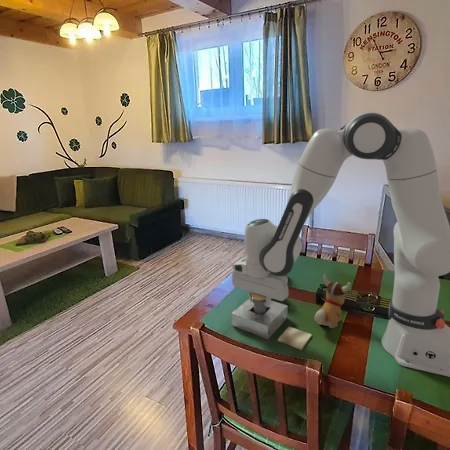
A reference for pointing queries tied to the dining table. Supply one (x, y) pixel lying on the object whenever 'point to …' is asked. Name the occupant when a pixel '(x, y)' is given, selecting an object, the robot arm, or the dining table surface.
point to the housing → (259, 318)
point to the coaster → (294, 338)
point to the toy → (332, 304)
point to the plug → (259, 304)
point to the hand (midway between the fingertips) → (259, 303)
